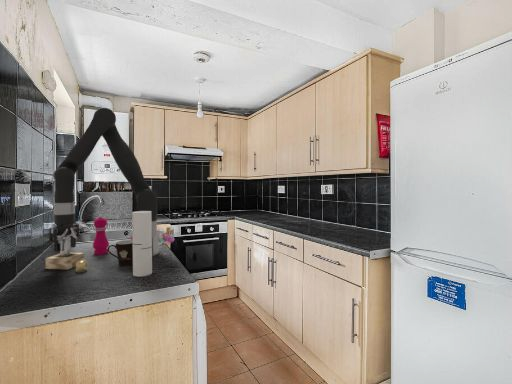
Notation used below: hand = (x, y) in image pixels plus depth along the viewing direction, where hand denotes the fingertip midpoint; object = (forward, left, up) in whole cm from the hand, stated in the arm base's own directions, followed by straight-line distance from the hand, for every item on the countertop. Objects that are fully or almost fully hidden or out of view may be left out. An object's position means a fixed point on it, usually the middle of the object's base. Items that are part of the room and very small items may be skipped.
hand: (65, 249), depth 120 cm
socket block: (0, 0, -7) cm, 7 cm away
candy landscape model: (-17, -49, -8) cm, 52 cm away
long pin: (0, 0, -7) cm, 7 cm away
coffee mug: (-24, -5, -7) cm, 26 cm away
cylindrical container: (-39, +7, -7) cm, 40 cm away
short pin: (-12, +6, -7) cm, 15 cm away
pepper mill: (-2, -21, -7) cm, 22 cm away
